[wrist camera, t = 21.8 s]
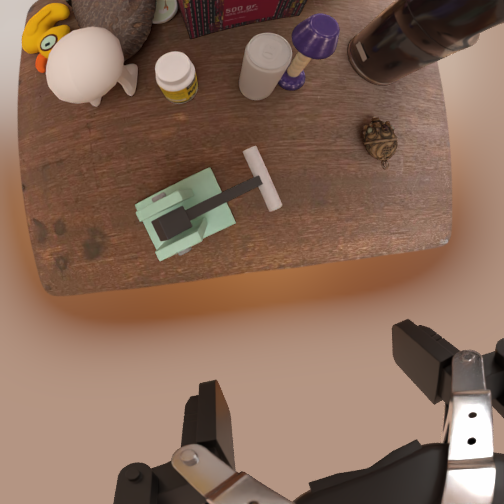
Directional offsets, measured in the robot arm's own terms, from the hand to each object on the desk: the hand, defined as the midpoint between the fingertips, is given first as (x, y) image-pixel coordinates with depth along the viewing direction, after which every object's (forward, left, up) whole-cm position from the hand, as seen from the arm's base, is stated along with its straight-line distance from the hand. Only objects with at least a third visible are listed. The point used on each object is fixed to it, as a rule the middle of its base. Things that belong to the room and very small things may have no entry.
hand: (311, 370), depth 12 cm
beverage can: (-6, -21, -30) cm, 37 cm away
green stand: (+7, -6, -30) cm, 31 cm away
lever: (+3, -7, -22) cm, 23 cm away
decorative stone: (+9, -39, -27) cm, 49 cm away
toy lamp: (-11, -21, -30) cm, 38 cm away
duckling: (+25, -44, -27) cm, 58 cm away
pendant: (-21, -9, -30) cm, 38 cm away
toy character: (+13, -26, -30) cm, 42 cm away
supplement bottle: (+3, -23, -30) cm, 38 cm away
